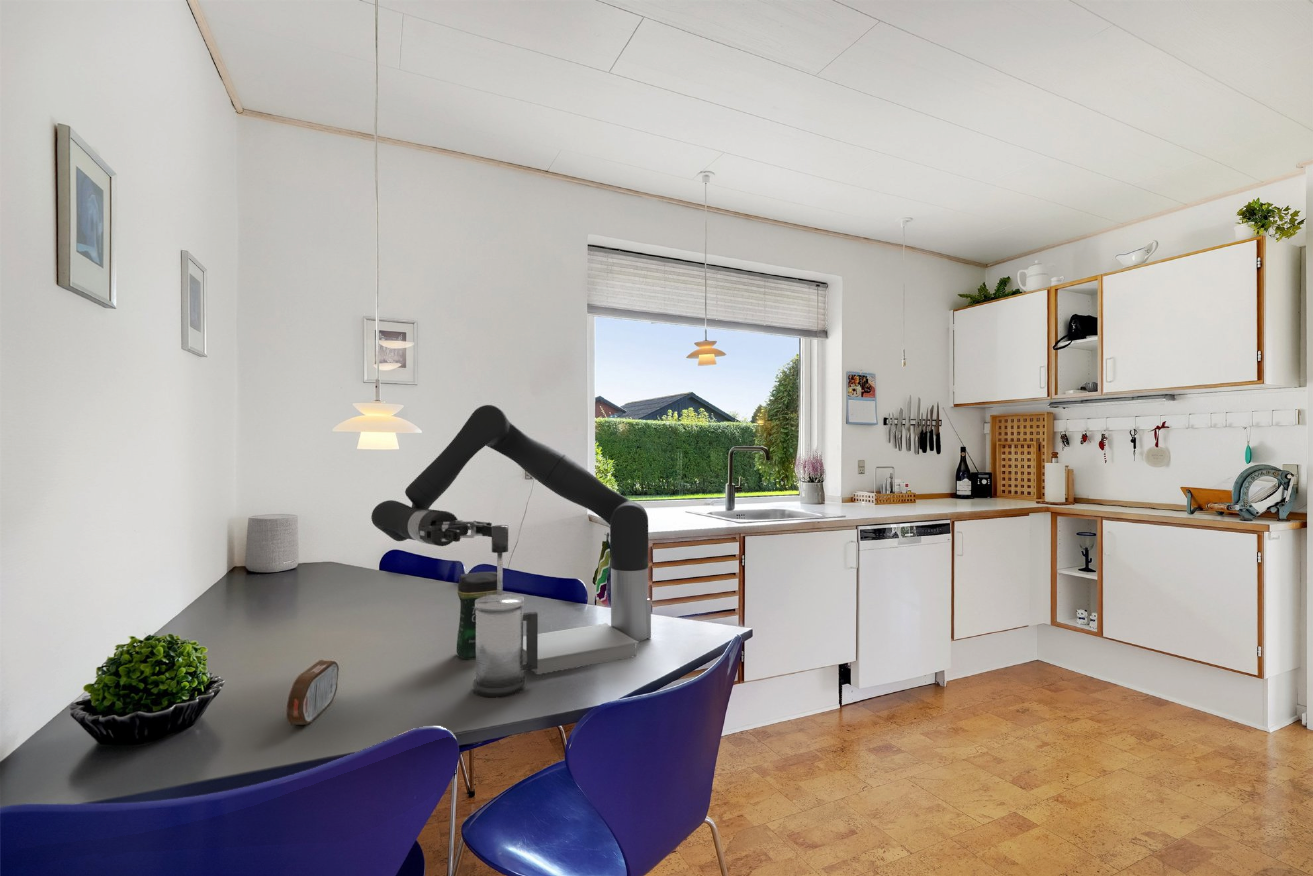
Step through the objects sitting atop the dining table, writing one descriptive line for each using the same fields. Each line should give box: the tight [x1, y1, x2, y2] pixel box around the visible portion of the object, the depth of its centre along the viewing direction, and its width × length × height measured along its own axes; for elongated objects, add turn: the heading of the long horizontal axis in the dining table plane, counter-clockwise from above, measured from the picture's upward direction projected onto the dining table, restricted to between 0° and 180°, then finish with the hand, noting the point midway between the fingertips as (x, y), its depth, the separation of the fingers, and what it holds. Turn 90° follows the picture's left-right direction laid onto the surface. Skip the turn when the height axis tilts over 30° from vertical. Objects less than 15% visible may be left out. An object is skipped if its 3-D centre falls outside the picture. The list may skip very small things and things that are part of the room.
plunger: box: [491, 524, 509, 596], centre depth 124 cm, size 3×3×14 cm
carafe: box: [473, 593, 539, 699], centre depth 124 cm, size 12×10×17 cm
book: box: [523, 623, 639, 675], centre depth 144 cm, size 18×4×24 cm
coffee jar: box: [456, 571, 497, 660], centre depth 144 cm, size 10×8×19 cm
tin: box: [286, 659, 340, 726], centre depth 112 cm, size 15×3×8 cm, turn 5°
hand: (477, 534), depth 129 cm, fingers open, 8 cm apart
